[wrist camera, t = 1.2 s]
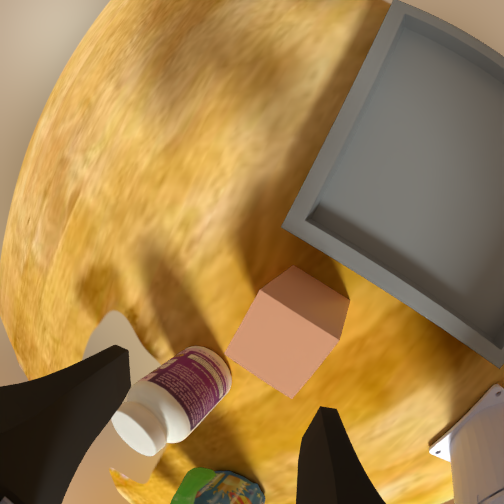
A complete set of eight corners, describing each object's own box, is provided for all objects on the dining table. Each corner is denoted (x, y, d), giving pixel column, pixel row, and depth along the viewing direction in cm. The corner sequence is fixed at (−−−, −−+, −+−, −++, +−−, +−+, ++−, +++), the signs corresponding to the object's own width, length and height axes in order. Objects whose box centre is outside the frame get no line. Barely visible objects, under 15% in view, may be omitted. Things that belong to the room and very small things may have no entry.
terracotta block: (350, 300, 18) (339, 340, 12) (315, 349, 19) (291, 398, 14) (293, 264, 19) (259, 289, 14) (263, 316, 20) (224, 353, 15)
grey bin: (577, 149, 9) (594, 145, 6) (488, 351, 14) (499, 368, 12) (393, 18, 13) (393, -2, 11) (292, 224, 19) (280, 227, 16)
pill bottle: (187, 332, 23) (102, 385, 15) (241, 365, 22) (169, 439, 13) (175, 375, 25) (103, 429, 16) (223, 405, 23) (159, 474, 15)
